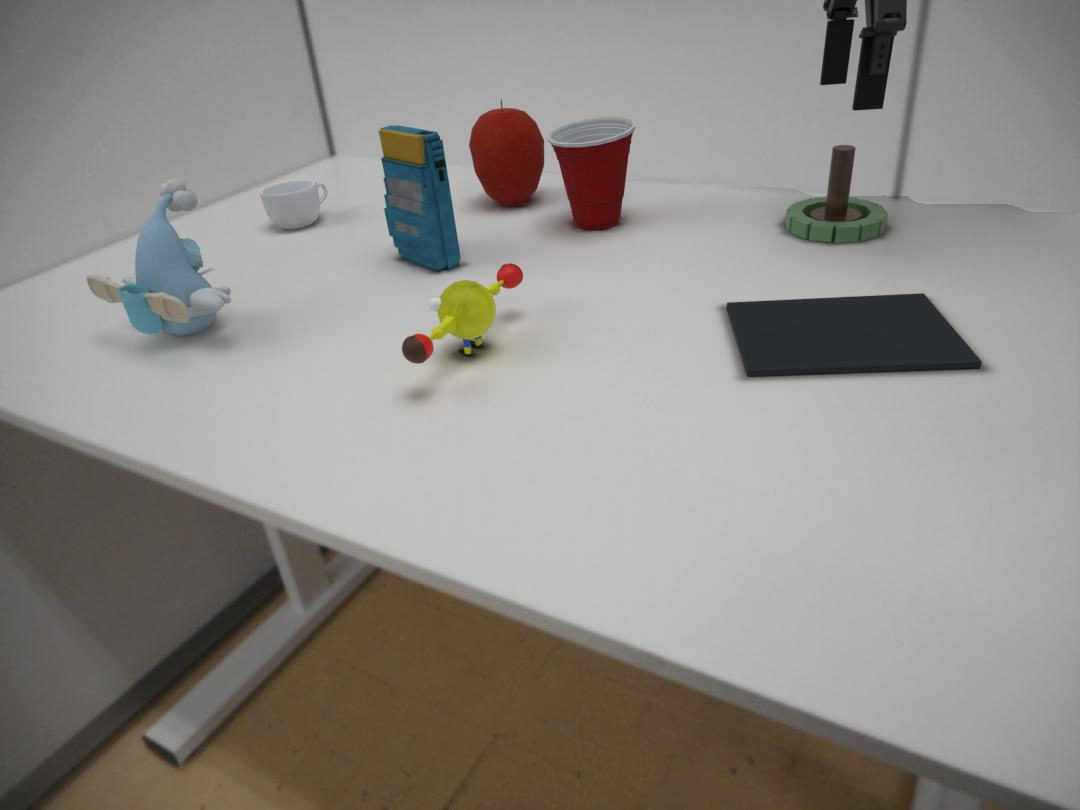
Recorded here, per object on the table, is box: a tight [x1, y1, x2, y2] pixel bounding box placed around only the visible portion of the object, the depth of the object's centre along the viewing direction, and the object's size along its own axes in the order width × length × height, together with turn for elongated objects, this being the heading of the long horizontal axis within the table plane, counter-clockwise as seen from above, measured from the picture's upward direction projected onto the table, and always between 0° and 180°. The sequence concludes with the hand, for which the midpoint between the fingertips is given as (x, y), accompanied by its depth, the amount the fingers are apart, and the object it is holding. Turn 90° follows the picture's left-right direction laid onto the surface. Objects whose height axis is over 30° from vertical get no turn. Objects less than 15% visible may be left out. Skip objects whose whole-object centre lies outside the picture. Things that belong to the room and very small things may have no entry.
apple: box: [468, 98, 545, 208], centre depth 102 cm, size 10×10×14 cm
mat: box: [726, 292, 983, 377], centre depth 65 cm, size 18×13×1 cm
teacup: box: [258, 178, 328, 230], centre depth 105 cm, size 10×8×5 cm
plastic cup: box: [546, 115, 637, 231], centre depth 92 cm, size 11×11×12 cm
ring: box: [784, 196, 889, 244], centre depth 87 cm, size 11×11×2 cm
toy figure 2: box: [401, 262, 524, 365], centre depth 67 cm, size 18×6×7 cm, turn 152°
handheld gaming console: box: [378, 124, 462, 273], centre depth 85 cm, size 10×4×15 cm, turn 43°
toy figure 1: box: [86, 177, 232, 337], centre depth 74 cm, size 17×10×15 cm, turn 57°
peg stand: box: [810, 144, 862, 222], centre depth 85 cm, size 6×6×9 cm
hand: (848, 96), depth 79 cm, fingers open, 13 cm apart
